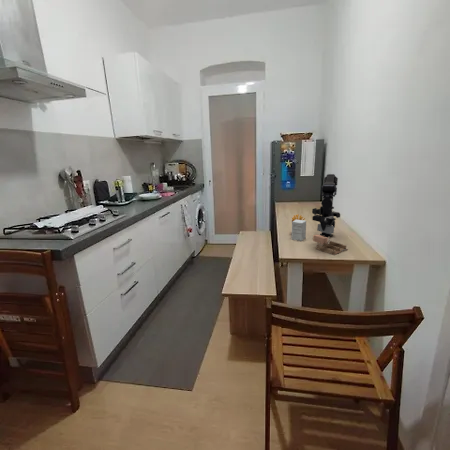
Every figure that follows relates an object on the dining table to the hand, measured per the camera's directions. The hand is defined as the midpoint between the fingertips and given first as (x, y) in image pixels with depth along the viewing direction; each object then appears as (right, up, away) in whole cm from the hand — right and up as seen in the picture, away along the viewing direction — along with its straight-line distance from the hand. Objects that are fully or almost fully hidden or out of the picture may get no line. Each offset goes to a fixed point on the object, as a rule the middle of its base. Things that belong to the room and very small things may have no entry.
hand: (325, 230), depth 157 cm
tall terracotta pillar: (+1, -8, +12) cm, 15 cm away
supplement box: (-11, -7, +20) cm, 23 cm away
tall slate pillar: (0, -1, 0) cm, 1 cm away
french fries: (-9, -4, +29) cm, 30 cm away
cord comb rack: (+3, -12, -1) cm, 12 cm away
